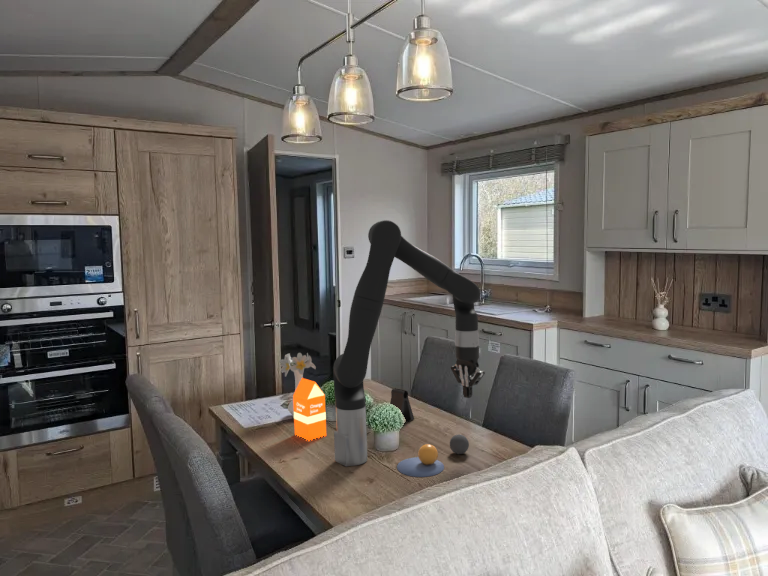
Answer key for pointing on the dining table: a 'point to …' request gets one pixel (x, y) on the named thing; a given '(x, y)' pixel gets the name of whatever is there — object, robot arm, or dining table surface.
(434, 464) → the blue plate
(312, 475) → the dining table surface
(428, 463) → the orange ball
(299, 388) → the orange juice
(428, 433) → the dining table surface
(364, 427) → the robot arm
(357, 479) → the dining table surface
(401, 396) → the door stopper
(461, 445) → the gray ball
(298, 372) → the flower vase
